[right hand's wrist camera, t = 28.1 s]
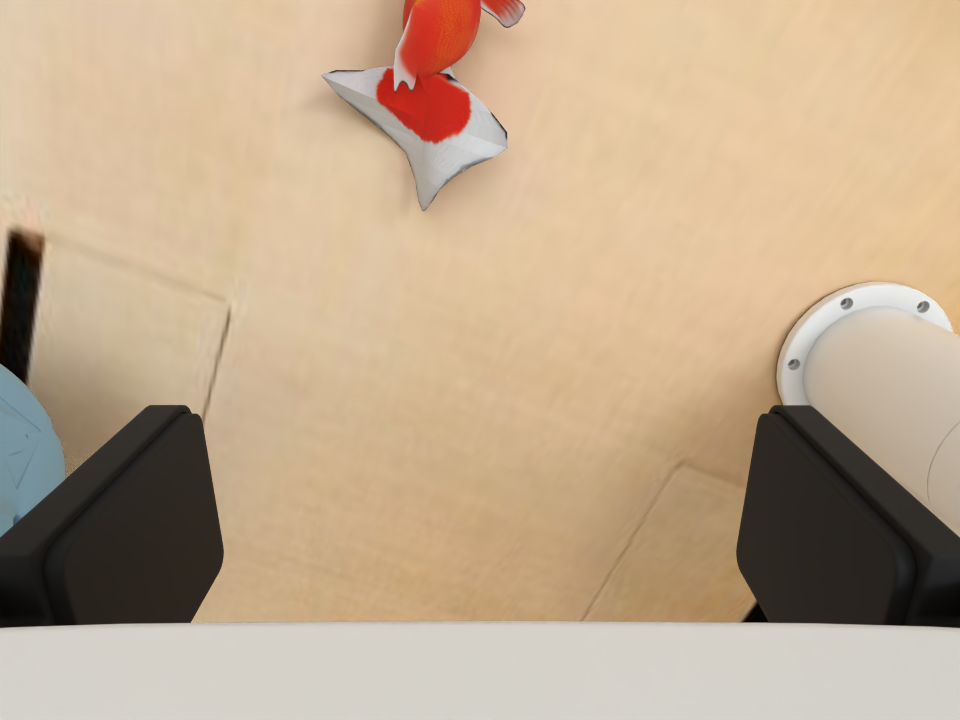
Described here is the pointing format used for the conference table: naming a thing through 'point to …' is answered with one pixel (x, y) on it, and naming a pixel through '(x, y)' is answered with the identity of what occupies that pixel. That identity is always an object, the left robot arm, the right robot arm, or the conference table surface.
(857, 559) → the right robot arm
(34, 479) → the left robot arm
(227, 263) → the conference table surface
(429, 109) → the fish
